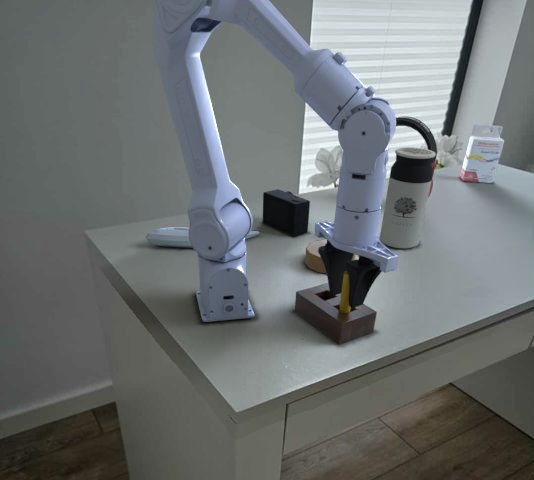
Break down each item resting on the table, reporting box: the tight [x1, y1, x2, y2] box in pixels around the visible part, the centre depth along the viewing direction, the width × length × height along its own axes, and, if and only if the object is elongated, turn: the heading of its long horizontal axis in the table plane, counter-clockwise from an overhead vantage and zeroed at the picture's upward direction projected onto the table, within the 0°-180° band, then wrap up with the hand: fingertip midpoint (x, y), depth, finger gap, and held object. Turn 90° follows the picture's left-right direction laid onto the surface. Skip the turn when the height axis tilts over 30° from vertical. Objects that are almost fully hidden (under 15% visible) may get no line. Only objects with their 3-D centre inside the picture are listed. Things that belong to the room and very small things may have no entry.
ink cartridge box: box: [459, 124, 505, 184], centre depth 142 cm, size 9×5×15 cm, turn 82°
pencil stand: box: [294, 282, 378, 345], centre depth 74 cm, size 6×11×4 cm, turn 33°
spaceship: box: [144, 226, 260, 248], centre depth 98 cm, size 23×7×4 cm, turn 107°
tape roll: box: [304, 239, 357, 274], centre depth 92 cm, size 9×9×3 cm
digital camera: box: [262, 188, 311, 238], centre depth 106 cm, size 10×5×7 cm, turn 40°
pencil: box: [339, 270, 351, 314], centre depth 71 cm, size 2×2×10 cm
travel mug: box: [379, 146, 436, 249], centre depth 98 cm, size 8×8×18 cm
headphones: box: [395, 115, 438, 199], centre depth 119 cm, size 18×10×20 cm, turn 58°
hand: (346, 299), depth 71 cm, fingers open, 4 cm apart
